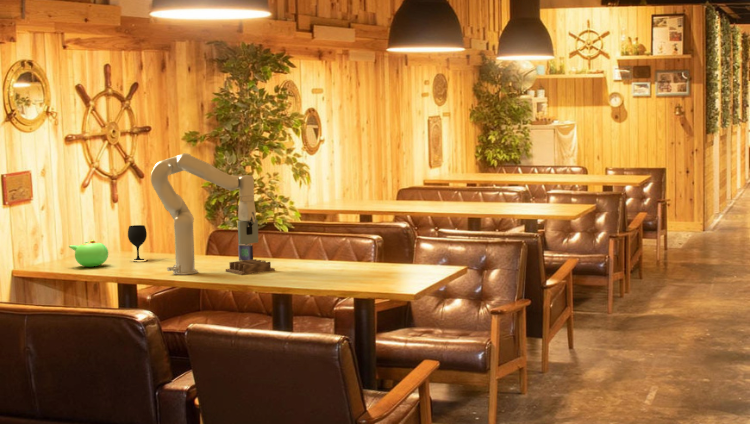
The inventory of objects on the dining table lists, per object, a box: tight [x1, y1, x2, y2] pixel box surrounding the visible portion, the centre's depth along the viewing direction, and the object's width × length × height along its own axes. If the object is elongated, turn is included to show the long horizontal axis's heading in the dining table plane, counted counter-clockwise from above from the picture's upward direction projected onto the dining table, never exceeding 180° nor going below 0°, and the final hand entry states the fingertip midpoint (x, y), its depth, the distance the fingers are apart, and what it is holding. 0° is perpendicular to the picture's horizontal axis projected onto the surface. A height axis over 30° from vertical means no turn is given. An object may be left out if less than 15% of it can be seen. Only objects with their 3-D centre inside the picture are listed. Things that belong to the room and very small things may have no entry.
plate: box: [237, 219, 259, 245], centre depth 497 cm, size 11×2×12 cm, turn 131°
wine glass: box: [127, 224, 148, 260], centre depth 542 cm, size 10×10×20 cm
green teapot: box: [68, 239, 109, 268], centre depth 522 cm, size 18×17×15 cm
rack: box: [225, 258, 276, 276], centre depth 498 cm, size 20×16×5 cm
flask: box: [237, 243, 254, 261], centre depth 538 cm, size 9×3×11 cm, turn 65°
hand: (248, 234), depth 497 cm, fingers closed on plate, 2 cm apart
